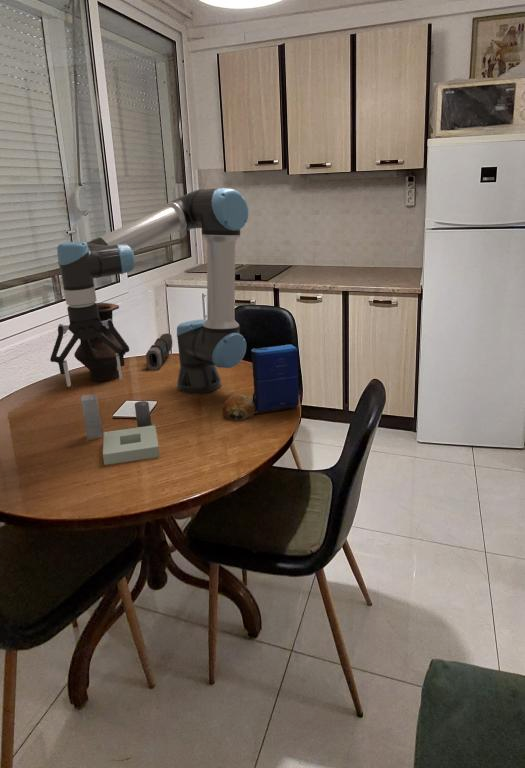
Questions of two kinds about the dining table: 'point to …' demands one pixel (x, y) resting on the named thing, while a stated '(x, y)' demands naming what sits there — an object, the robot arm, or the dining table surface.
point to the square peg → (91, 416)
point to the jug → (100, 350)
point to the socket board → (130, 445)
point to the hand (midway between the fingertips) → (95, 381)
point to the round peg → (142, 414)
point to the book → (275, 378)
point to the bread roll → (238, 407)
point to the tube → (159, 351)
